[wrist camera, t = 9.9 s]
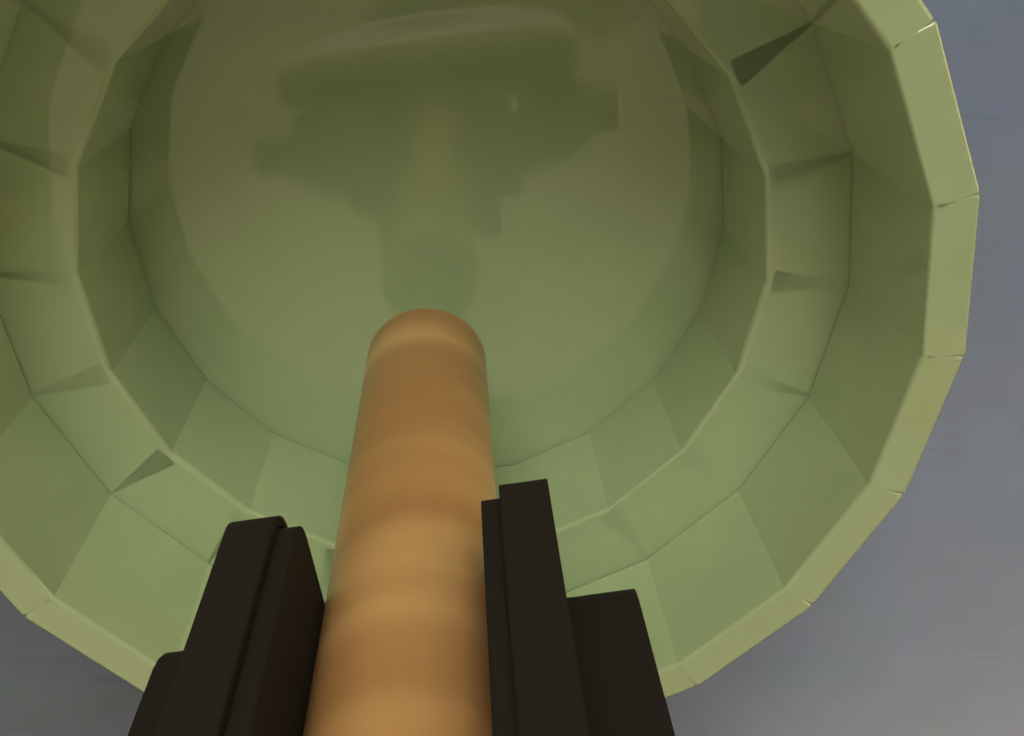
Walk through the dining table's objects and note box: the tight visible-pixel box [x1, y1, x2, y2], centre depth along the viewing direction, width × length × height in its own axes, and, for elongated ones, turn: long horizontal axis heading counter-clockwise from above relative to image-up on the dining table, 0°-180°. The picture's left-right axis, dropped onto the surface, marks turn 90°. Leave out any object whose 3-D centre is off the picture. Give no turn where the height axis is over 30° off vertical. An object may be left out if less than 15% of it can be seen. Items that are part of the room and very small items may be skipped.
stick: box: [303, 308, 497, 736], centre depth 11 cm, size 2×2×12 cm
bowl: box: [0, 0, 980, 698], centre depth 15 cm, size 14×14×6 cm
